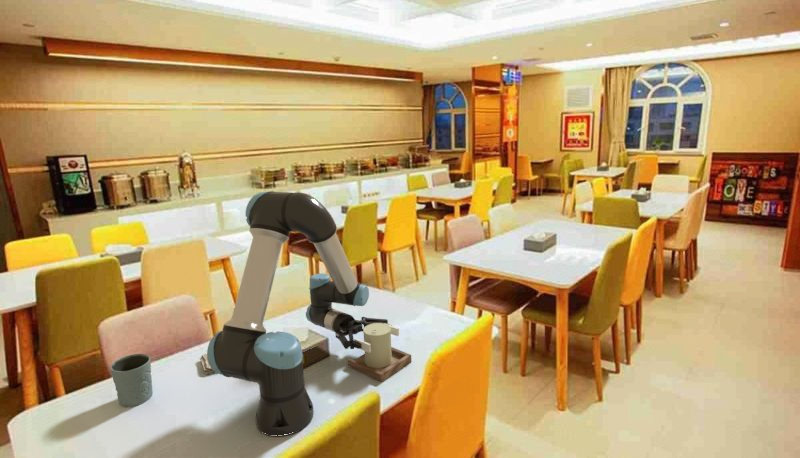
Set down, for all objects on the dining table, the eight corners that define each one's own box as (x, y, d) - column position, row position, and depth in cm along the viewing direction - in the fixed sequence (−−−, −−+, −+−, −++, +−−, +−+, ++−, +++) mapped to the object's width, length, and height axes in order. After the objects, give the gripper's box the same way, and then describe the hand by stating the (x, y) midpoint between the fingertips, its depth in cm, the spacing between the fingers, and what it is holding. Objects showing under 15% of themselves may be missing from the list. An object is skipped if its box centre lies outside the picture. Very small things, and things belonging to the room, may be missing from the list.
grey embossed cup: (121, 392, 132) (114, 357, 129) (159, 385, 135) (152, 350, 133) (113, 412, 123) (105, 374, 120) (153, 403, 126) (146, 366, 123)
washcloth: (199, 361, 149) (198, 353, 149) (252, 346, 159) (251, 339, 158) (205, 377, 140) (204, 369, 139) (261, 360, 149) (260, 352, 148)
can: (360, 366, 141) (358, 332, 138) (370, 352, 149) (368, 320, 147) (387, 370, 138) (385, 335, 135) (395, 355, 147) (394, 322, 144)
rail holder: (381, 382, 133) (381, 374, 133) (347, 366, 143) (347, 359, 142) (411, 361, 145) (411, 354, 144) (378, 348, 154) (378, 341, 153)
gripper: (365, 320, 163) (408, 336, 150) (313, 346, 145) (357, 367, 132) (364, 301, 162) (408, 316, 148) (311, 325, 143) (356, 344, 130)
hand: (384, 340), depth 140 cm, fingers open, 13 cm apart
